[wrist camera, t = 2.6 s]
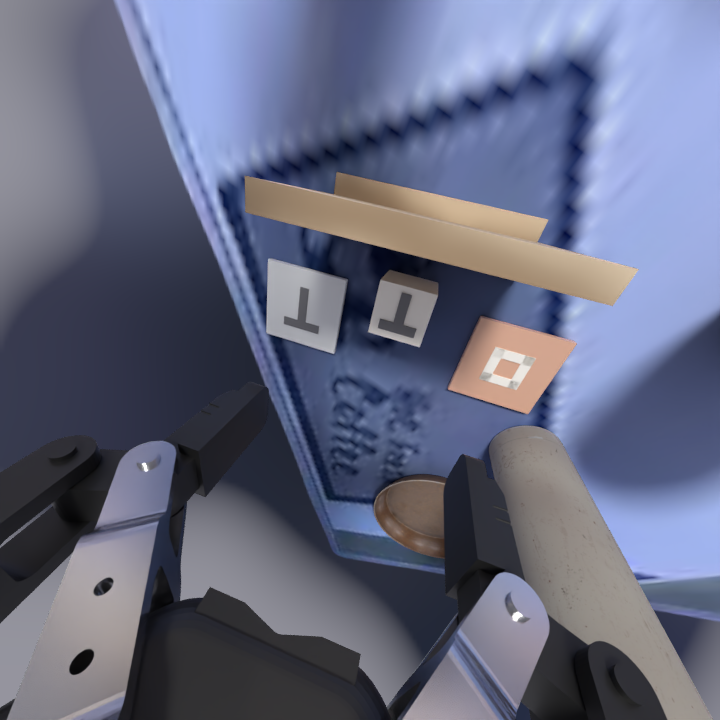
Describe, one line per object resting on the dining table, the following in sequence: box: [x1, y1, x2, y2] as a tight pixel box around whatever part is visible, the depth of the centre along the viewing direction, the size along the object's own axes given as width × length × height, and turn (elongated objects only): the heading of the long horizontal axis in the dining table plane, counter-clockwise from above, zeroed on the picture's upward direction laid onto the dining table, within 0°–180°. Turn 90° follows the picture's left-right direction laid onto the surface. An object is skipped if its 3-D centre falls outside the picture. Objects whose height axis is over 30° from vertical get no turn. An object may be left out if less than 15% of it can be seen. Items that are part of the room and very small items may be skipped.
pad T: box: [266, 258, 348, 354], centre depth 31 cm, size 9×9×1 cm
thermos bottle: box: [489, 426, 713, 720], centre depth 21 cm, size 8×8×28 cm
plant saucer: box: [374, 474, 447, 559], centre depth 41 cm, size 18×18×3 cm
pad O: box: [448, 316, 577, 414], centre depth 28 cm, size 9×9×1 cm
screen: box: [245, 172, 639, 306], centre depth 18 cm, size 5×18×14 cm, turn 78°
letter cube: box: [368, 270, 438, 347], centre depth 26 cm, size 5×5×5 cm
